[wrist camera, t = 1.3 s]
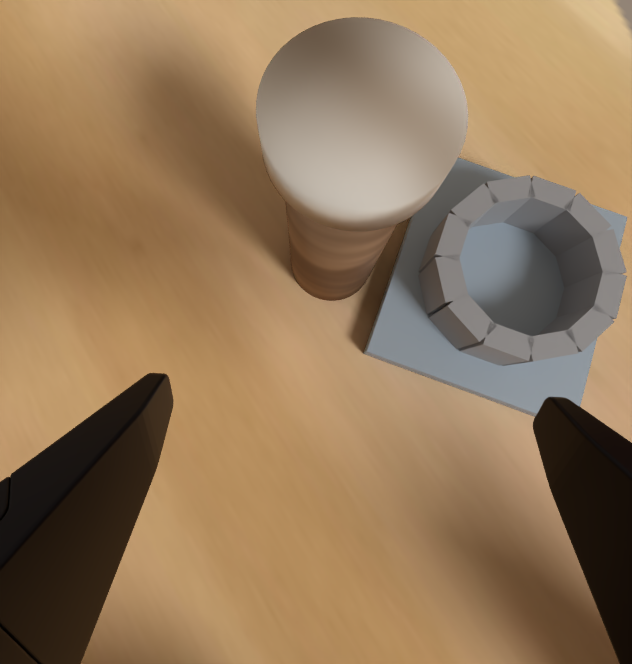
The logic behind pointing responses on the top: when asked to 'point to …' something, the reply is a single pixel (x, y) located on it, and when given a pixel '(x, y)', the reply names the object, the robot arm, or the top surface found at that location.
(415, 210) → the walnut peg
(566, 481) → the robot arm
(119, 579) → the top surface
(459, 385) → the collar socket
